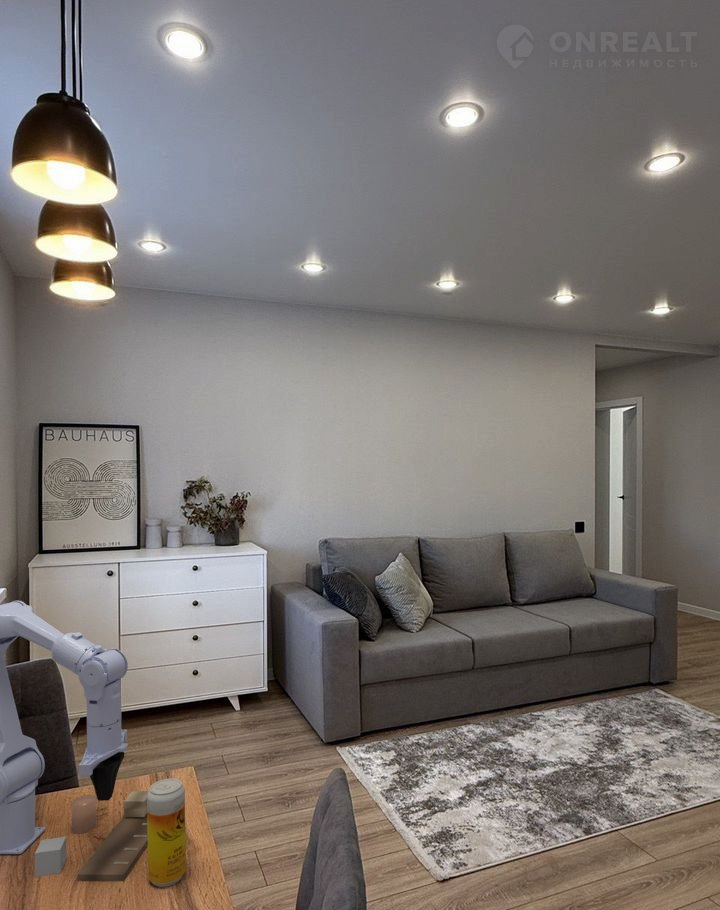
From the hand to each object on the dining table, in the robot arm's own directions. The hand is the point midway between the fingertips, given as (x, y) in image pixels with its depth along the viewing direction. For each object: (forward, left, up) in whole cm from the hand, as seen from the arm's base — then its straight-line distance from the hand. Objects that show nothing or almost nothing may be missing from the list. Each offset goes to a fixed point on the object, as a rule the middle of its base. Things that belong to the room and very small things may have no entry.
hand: (104, 798), depth 108 cm
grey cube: (-8, -2, -10) cm, 14 cm away
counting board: (+2, +5, -10) cm, 12 cm away
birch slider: (+1, +13, -9) cm, 16 cm away
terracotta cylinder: (-9, +10, -10) cm, 17 cm away
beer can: (+13, -5, -11) cm, 18 cm away
